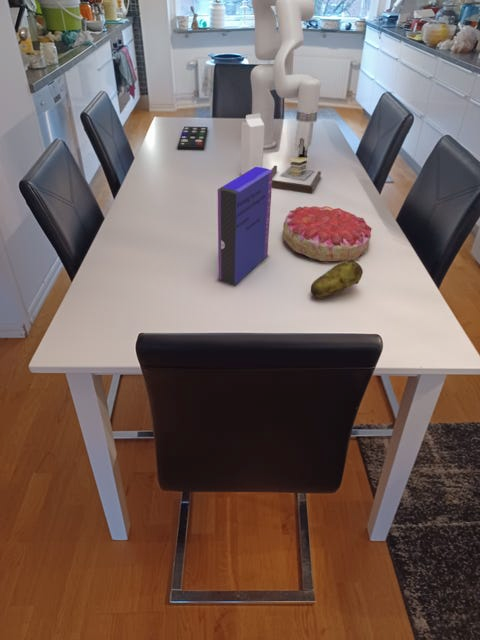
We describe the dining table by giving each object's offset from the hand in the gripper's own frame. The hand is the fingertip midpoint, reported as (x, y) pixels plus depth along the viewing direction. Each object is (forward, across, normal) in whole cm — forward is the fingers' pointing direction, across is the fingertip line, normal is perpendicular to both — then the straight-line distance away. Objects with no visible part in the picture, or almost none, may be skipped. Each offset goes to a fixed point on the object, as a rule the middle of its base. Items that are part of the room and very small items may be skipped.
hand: (301, 165), depth 181 cm
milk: (+2, +14, -16) cm, 22 cm away
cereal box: (+2, +79, +1) cm, 79 cm away
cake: (+2, +58, +18) cm, 61 cm away
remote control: (+2, -21, -54) cm, 58 cm away
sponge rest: (+1, +14, 0) cm, 14 cm away
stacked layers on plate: (+2, +6, 0) cm, 6 cm away
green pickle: (+2, +83, +25) cm, 87 cm away
